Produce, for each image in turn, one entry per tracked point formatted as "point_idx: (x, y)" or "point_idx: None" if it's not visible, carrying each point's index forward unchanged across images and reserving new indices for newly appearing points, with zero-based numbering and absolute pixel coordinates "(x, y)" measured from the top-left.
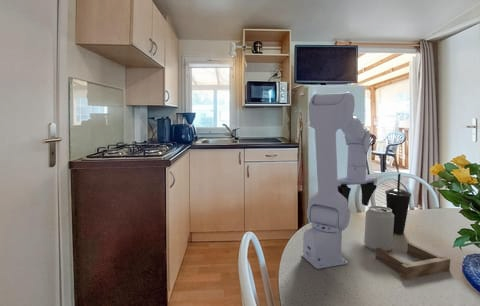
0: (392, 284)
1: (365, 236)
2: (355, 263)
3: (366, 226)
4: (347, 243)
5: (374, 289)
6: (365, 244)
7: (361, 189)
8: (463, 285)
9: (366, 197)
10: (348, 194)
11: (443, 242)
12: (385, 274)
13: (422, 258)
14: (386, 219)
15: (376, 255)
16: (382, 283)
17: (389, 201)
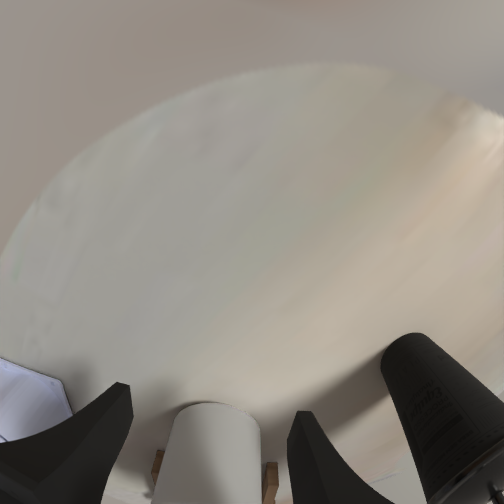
0: (127, 487)
1: (169, 437)
2: None
3: (160, 469)
4: (136, 372)
5: None
6: (174, 419)
7: (327, 495)
8: None
9: (297, 485)
10: (95, 498)
11: None
12: (135, 476)
13: (262, 488)
14: None
15: (155, 459)
16: (112, 480)
17: (425, 463)
